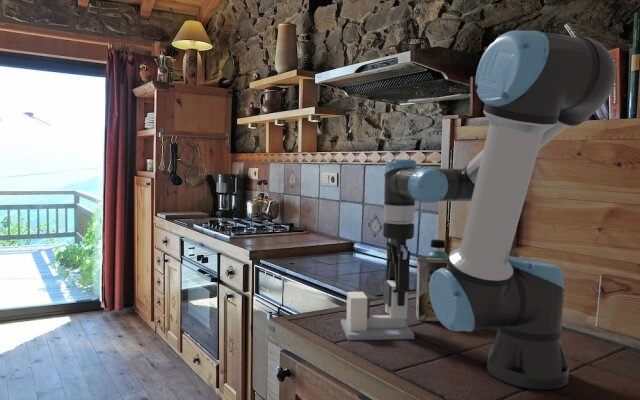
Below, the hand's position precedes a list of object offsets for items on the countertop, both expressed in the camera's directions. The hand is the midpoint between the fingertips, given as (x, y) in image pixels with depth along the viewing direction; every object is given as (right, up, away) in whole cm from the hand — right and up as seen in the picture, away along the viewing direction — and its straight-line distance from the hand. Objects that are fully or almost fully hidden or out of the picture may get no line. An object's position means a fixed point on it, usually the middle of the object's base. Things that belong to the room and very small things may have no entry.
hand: (395, 313), depth 126 cm
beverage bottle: (+15, -3, +22) cm, 27 cm away
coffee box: (+12, -4, +11) cm, 17 cm away
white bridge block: (0, 0, 0) cm, 0 cm away
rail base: (-5, -4, 0) cm, 7 cm away
